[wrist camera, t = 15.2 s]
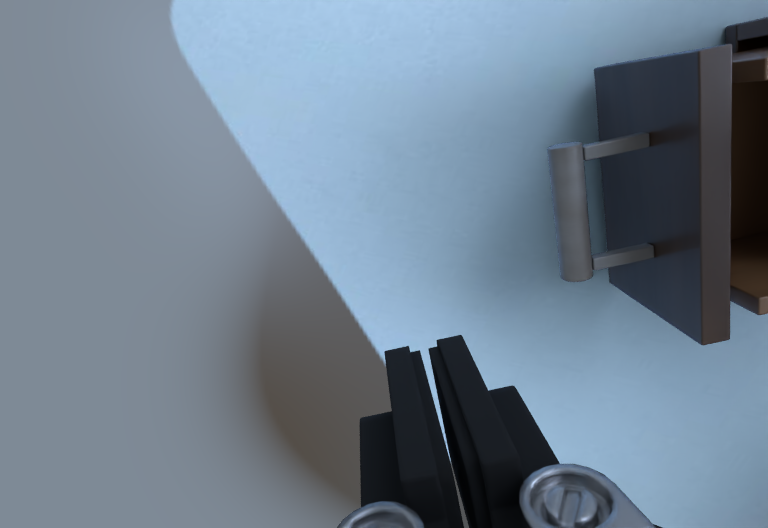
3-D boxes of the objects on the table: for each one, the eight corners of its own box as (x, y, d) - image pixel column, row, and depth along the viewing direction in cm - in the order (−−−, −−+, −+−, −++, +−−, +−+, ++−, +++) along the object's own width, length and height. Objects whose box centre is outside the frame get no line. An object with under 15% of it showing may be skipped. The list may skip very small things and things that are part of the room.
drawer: (535, 298, 28) (601, 367, 20) (509, 86, 24) (577, 76, 17) (846, 231, 28) (1027, 276, 20) (865, 9, 24) (1091, -36, 17)
